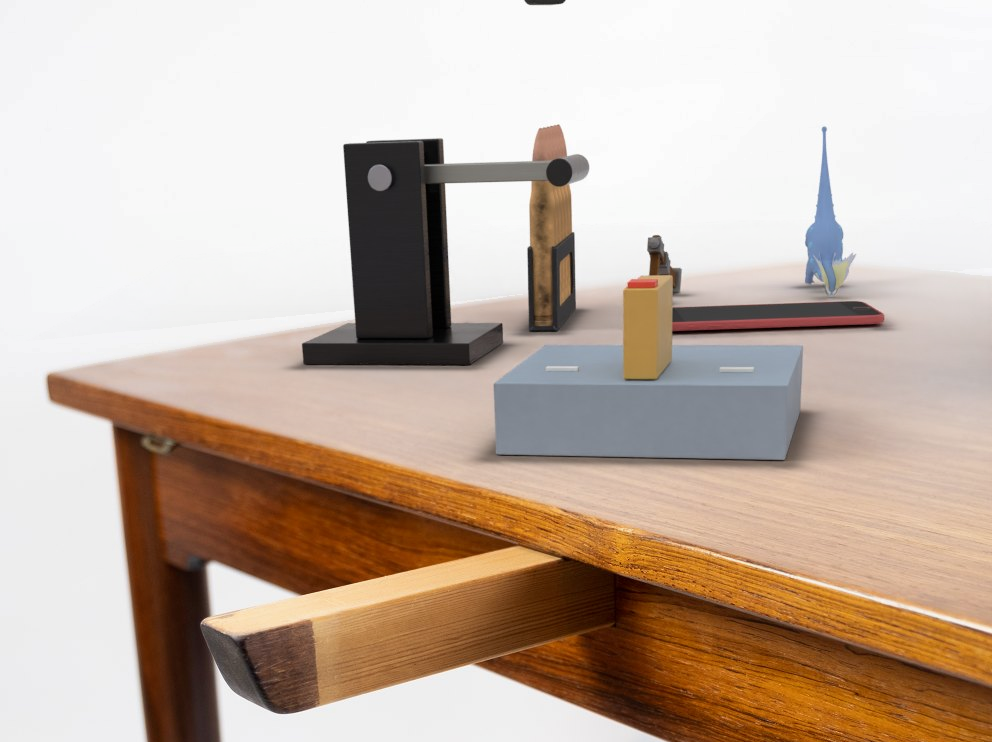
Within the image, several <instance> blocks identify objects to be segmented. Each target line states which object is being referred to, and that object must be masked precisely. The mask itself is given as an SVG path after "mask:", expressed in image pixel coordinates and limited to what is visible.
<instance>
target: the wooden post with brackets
mask: <svg viewBox="0 0 992 742" xmlns="http://www.w3.org/2000/svg"><path fill="white" fill-rule="evenodd" d="M646 245H647V247H646V251H647V252H648V254H649V258H650V259H649V271H648V276H653V275H671V276H673V294H681V287H682V273H683V268H682V267H672V265H671V259H670V257H669V253H668V251H665V244H664V242H663V239H662V236H661V235H660V234H654V235H652V236H650V237H647V244H646Z"/></svg>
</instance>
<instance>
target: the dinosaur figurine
mask: <svg viewBox="0 0 992 742" xmlns="http://www.w3.org/2000/svg"><path fill="white" fill-rule="evenodd" d="M827 131H828V128H827V126H822V127H821V132H822V150H821V151H822V153H821V165H820V173H819V174H820V176H819V184H818V193H817V202H816V205H815V206H816V211H815V215H814V222H813V223H812V224H811V225H809V227H808V228H807V230H806V233H805V240H804V244H805V247H806V248H807V251H806V252H807V258H808V259H807V262H806V266H805V277H804V278H805V279H804V283H805V285H807V286H811V285H812V284H815V280H814V277H815V278H816V279H817V280H819V281H820V282H821V283H823V284H824V292H825V294H826V295H827V296H828V297H829V298H834V296H835V295H836V294H837V292H838V291H839V288H840V287H841V286H842V285H843V283H845V281H846V279H847V278H848V276H849V273H850V267H851V265H852V263H853V261H854V260H855V258H856V256H857V253H855V254H854V252H851V254H849V255H848V256H847V257H843V253H844V243H843V240H844V230H843V227H842V226H841V224H839V223H838V221H837V220H836V215H835V210H834V203H833V194H832V189H831V188H832V187H831V179H830V171H829V163H828V154H827Z"/></svg>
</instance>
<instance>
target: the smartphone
mask: <svg viewBox="0 0 992 742" xmlns="http://www.w3.org/2000/svg"><path fill="white" fill-rule="evenodd" d="M884 321H885V314H884V312H882V311H880V310H878V309H877V308H875V307H874V306H872V305H870V304H869V303H866V302H865V301H859V300H840V301H812V302H811V301H810V302H787V303H786V302H781V303H759V304H758V303H755V304H727V305H699V306H672V332H683V331H684V332H685V331H686V332H687V331H711V330H712V331H713V330H716V331H717V330H739V329H743V330H745V329H772V328H800V327H823V326H824V327H826V326H829V327H830V326H854V325H855V326H857V325H875V324H876V325H877V324H882V323H884Z"/></svg>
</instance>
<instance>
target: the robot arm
mask: <svg viewBox="0 0 992 742" xmlns="http://www.w3.org/2000/svg"><path fill="white" fill-rule="evenodd" d="M523 1H524V2H525V4H527V5H529V6H554V5H555V6H556V5H563V4H564V3H565V2H566V1H567V0H523Z"/></svg>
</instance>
